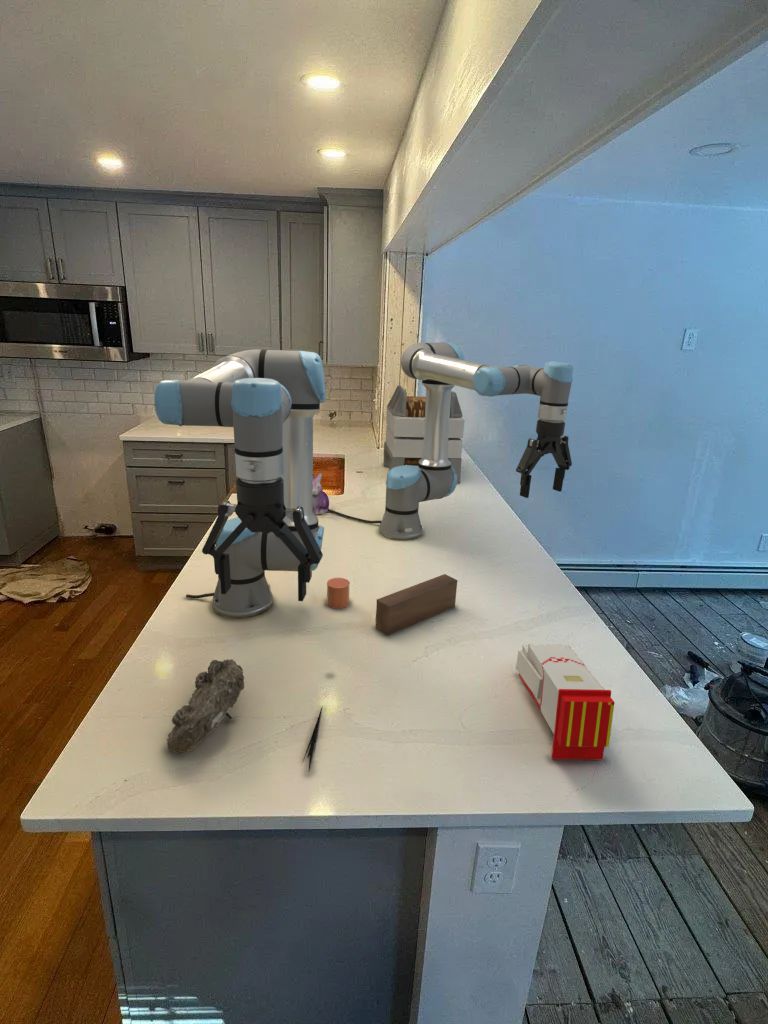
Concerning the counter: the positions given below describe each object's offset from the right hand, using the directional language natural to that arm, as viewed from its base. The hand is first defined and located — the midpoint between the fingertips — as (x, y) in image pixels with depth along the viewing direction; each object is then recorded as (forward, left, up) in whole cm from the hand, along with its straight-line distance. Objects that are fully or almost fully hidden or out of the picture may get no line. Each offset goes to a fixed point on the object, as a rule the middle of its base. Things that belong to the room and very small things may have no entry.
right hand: (540, 493), depth 163 cm
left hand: (+8, -94, +1) cm, 95 cm away
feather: (+14, -86, -26) cm, 91 cm away
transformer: (-101, +51, -26) cm, 116 cm away
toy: (+40, -48, -26) cm, 68 cm away
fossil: (+1, -102, -26) cm, 105 cm away
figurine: (-83, -21, -26) cm, 89 cm away
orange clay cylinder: (-21, -57, -26) cm, 66 cm away
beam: (-3, -45, -26) cm, 52 cm away
